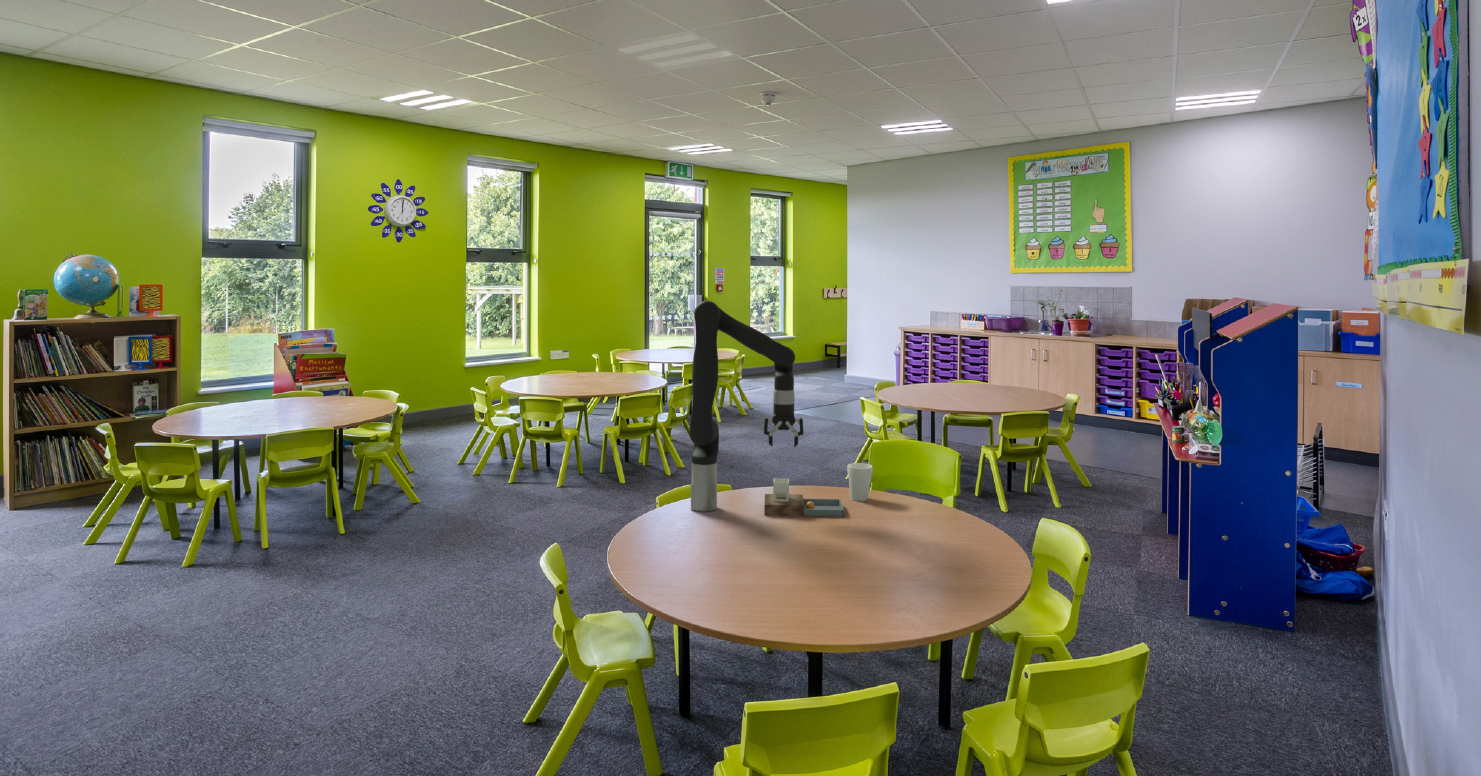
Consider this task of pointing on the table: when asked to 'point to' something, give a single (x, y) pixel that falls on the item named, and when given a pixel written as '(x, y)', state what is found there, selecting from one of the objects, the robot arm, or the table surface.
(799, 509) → the platform
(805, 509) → the tray
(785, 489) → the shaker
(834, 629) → the table surface
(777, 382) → the robot arm
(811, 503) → the ball
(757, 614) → the table surface
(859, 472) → the foam cup
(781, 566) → the table surface
